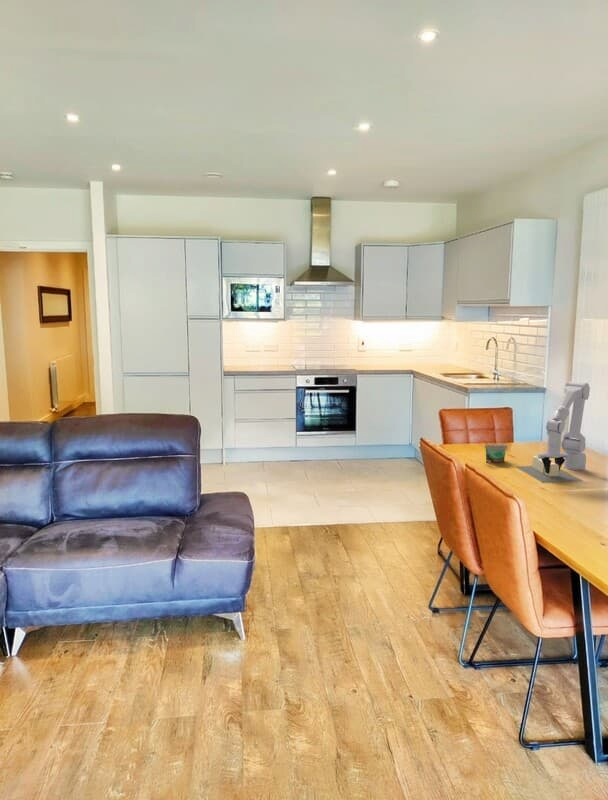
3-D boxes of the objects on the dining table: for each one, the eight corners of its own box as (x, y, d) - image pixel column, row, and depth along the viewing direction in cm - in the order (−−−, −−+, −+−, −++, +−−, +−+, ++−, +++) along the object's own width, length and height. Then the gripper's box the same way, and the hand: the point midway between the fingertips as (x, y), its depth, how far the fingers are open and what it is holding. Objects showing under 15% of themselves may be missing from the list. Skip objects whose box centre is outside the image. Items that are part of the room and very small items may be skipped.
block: (552, 473, 266) (553, 462, 265) (558, 476, 261) (559, 465, 260) (544, 473, 265) (544, 462, 264) (549, 476, 260) (550, 465, 259)
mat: (552, 466, 280) (552, 465, 280) (583, 482, 254) (583, 481, 254) (515, 468, 278) (515, 466, 277) (542, 484, 252) (542, 482, 252)
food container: (490, 466, 281) (491, 447, 280) (483, 462, 287) (484, 444, 286) (511, 464, 285) (512, 445, 283) (504, 461, 290) (505, 442, 289)
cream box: (540, 466, 277) (540, 456, 276) (552, 473, 266) (553, 462, 265) (531, 467, 276) (532, 456, 275) (543, 473, 266) (544, 462, 265)
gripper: (544, 447, 255) (542, 475, 258) (573, 446, 257) (571, 474, 259) (536, 443, 262) (534, 471, 265) (564, 442, 264) (562, 470, 266)
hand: (551, 472), depth 262 cm, fingers closed on block, 4 cm apart
